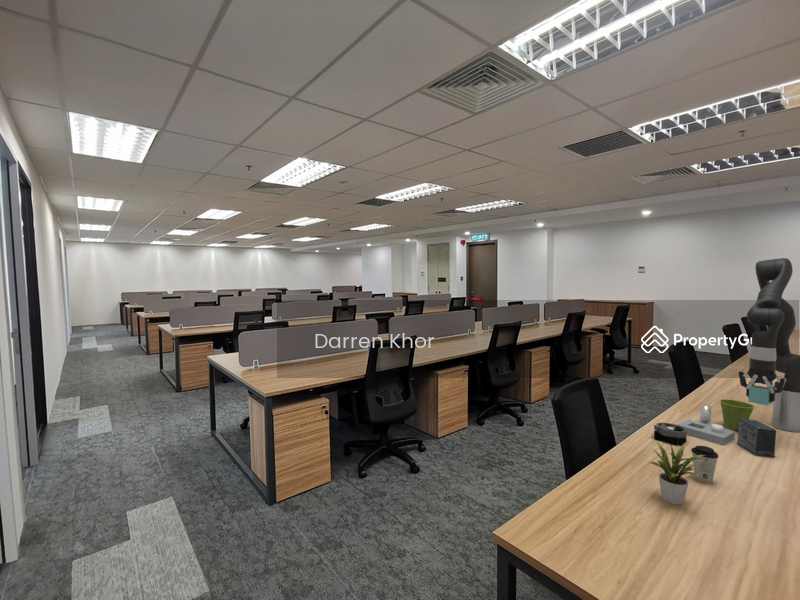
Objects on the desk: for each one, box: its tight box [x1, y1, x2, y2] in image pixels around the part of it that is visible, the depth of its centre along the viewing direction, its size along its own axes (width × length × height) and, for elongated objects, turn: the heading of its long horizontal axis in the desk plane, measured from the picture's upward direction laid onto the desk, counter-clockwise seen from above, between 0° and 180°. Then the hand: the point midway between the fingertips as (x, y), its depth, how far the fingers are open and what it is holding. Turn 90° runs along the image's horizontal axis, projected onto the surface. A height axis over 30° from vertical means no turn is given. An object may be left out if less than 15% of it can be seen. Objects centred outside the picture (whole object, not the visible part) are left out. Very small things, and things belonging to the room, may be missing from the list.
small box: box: [736, 419, 777, 458], centre depth 143 cm, size 11×6×10 cm, turn 168°
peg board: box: [676, 419, 736, 446], centre depth 157 cm, size 12×16×5 cm
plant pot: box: [718, 398, 756, 431], centre depth 165 cm, size 12×12×11 cm
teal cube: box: [747, 384, 772, 407], centre depth 150 cm, size 6×6×6 cm
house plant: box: [648, 441, 705, 506], centre depth 108 cm, size 14×14×16 cm
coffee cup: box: [690, 445, 719, 484], centre depth 122 cm, size 7×7×10 cm
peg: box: [699, 404, 712, 425], centre depth 165 cm, size 4×4×10 cm
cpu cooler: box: [653, 422, 688, 447], centre depth 152 cm, size 10×6×10 cm
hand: (760, 399), depth 150 cm, fingers closed on teal cube, 5 cm apart
